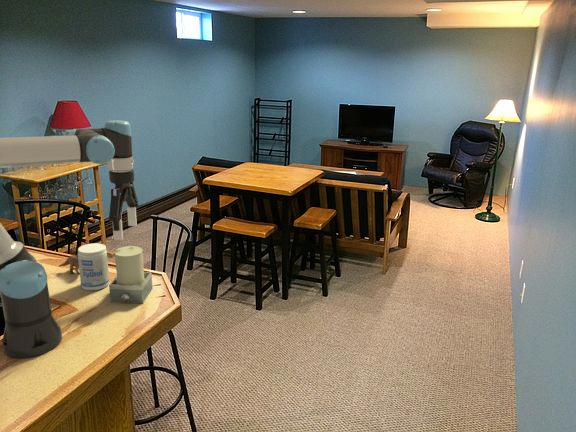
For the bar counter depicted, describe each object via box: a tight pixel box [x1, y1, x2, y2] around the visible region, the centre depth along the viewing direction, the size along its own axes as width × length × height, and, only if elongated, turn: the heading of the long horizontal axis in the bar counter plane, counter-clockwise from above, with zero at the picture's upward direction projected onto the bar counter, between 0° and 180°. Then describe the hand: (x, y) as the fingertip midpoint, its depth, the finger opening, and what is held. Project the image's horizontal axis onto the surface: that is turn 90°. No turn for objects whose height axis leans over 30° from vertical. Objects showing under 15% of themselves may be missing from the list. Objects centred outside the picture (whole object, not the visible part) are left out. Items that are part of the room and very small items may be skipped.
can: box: [113, 245, 145, 285], centre depth 162 cm, size 9×9×12 cm
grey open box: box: [108, 271, 153, 304], centre depth 164 cm, size 12×11×6 cm
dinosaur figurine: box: [58, 253, 80, 276], centre depth 181 cm, size 14×6×9 cm, turn 80°
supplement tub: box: [77, 242, 110, 291], centre depth 170 cm, size 10×10×15 cm
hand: (125, 232), depth 158 cm, fingers open, 13 cm apart
